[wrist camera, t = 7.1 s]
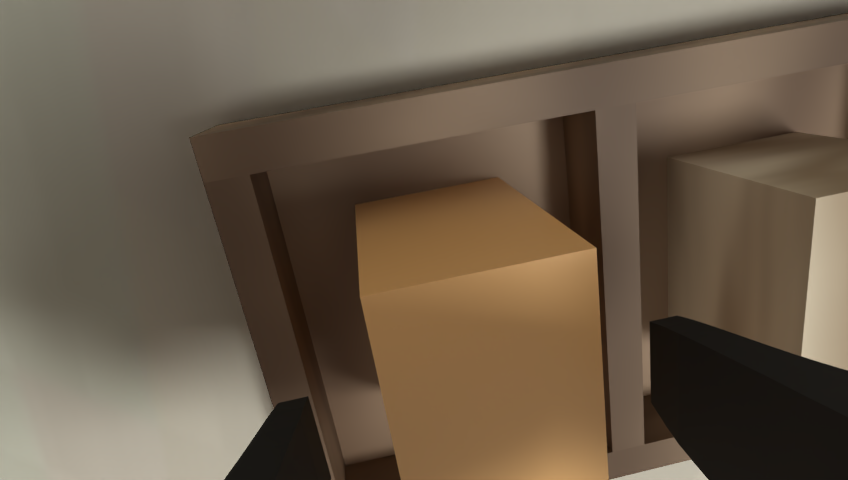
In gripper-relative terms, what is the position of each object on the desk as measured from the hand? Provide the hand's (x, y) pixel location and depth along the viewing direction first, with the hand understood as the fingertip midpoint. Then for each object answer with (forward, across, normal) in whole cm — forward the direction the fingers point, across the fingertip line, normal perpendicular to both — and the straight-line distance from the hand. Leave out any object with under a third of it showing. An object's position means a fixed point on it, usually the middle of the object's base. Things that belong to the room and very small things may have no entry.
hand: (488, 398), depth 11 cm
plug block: (+5, 0, 0) cm, 5 cm away
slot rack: (+6, -4, 0) cm, 7 cm away
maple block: (+5, -9, 0) cm, 10 cm away
